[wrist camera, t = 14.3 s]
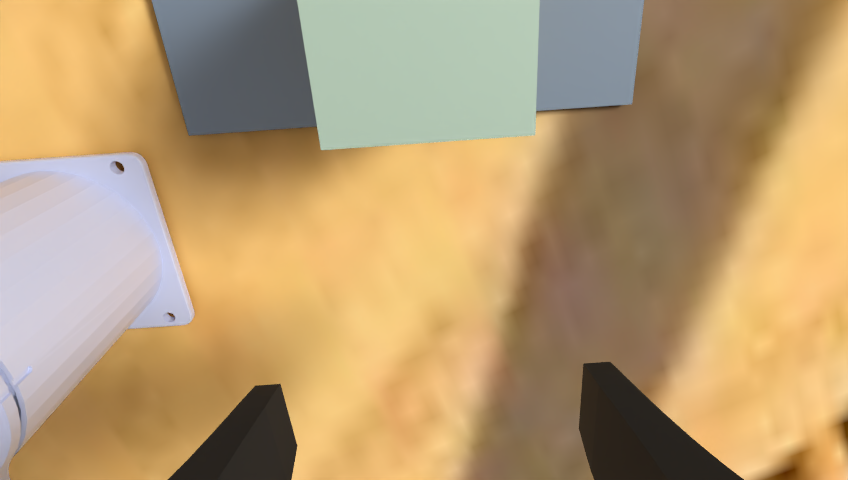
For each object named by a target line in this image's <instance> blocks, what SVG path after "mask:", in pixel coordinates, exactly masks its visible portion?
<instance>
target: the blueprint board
mask: <svg viewBox="0 0 848 480" xmlns="http://www.w3.org/2000/svg"><path fill="white" fill-rule="evenodd" d="M152 4H153V7H154V11H155V15H156V18H157V22H158V26H159V29H160V33H161V36H162V40H163V44H164V47H165V51H166V55H167V58H168V62H169V66H170V69H171V73H172V76H173V80H174V84H175V87H176V91H177V95H178V98H179V102H180V106H181V109H182V113H183V116H184V120H185V124H186V127H187V131H188V135H189V136H191V135H205V134H219V133H233V132H247V131H261V130H275V129H289V128H303V127H317V123H316V116H315V110H314V104H313V98H312V91H311V85H310V79H309V72H308V66H307V60H306V54H305V47H304V41H303V35H302V29H301V22H300V16H299V10H298V3H297V0H152ZM643 5H644V0H540V8H539V38H538V68H537V98H536V111H543V110H557V109H571V108H585V107H599V106H613V105H627V104H632V100H633V91H634V82H635V74H636V65H637V56H638V48H639V39H640V30H641V22H642V13H643Z"/></svg>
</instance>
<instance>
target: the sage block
mask: <svg viewBox="0 0 848 480" xmlns="http://www.w3.org/2000/svg"><path fill="white" fill-rule="evenodd" d="M297 3H298V10H299V16H300V22H301V29H302V35H303V41H304V47H305V54H306V60H307V66H308V72H309V79H310V85H311V91H312V98H313V104H314V110H315V116H316V123H317V129H318V135H319V142H320V148H321V150H332V149H346V148H360V147H374V146H389V145H403V144H417V143H431V142H445V141H460V140H474V139H488V138H502V137H517V136H531V135H535V128H536V98H537V68H538V38H539V8H540V0H297Z"/></svg>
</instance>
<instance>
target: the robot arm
mask: <svg viewBox="0 0 848 480" xmlns="http://www.w3.org/2000/svg"><path fill="white" fill-rule="evenodd" d="M116 161H117V162H120V163H121V164H122V165H123V167H124V171H121V170H119V169H118V168H117V166H116ZM167 312H168V313H172V314H173V315H174V316H175V317H171V316H169V315H168V313H167ZM194 316H195V313H194V309H193V306H192V302H191V299H190V296H189V293H188V290H187V287H186V284H185V281H184V277H183V274H182V271H181V268H180V265H179V262H178V259H177V256H176V252H175V249H174V246H173V243H172V240H171V237H170V234H169V231H168V227H167V224H166V221H165V218H164V215H163V212H162V209H161V206H160V202H159V199H158V196H157V193H156V190H155V187H154V184H153V181H152V177H151V174H150V171H149V168H148V165H147V162H146V161H145V159H144V158H143V157H142V156H141V155H140V154H138V153H135V152H122V153H108V154H94V155H80V156H66V157H51V158H37V159H23V160H9V161H0V480H11V479H10V477H9V464H10V462H11V460H12V458H13V457H14V456H15V455H16V453H17V452H18V451H19V450H20V449H21V448H22V447H23V446H24V445H25V443H26V442H27V441H28V440H29V439H30V438H31V437H32V436H33V434H34V433H35V432H36V431H37V430H38V429H39V428H40V427H41V425H42V424H43V423H44V422H45V421H46V420H47V419H48V418H49V416H50V415H51V414H52V413H53V412H54V411H55V410H56V409H57V407H58V406H59V405H60V404H61V403H62V402H63V401H64V399H65V398H66V397H67V396H68V395H69V394H70V393H71V392H72V390H73V389H74V388H75V387H76V386H77V385H78V384H79V383H80V381H81V380H82V379H83V378H84V377H85V376H86V375H87V374H88V372H89V371H90V370H91V369H92V368H93V367H94V366H95V365H96V363H97V362H98V361H99V360H100V359H101V358H102V357H103V356H104V354H105V353H106V352H107V351H108V350H109V349H110V348H111V347H112V345H113V344H114V343H115V342H116V341H117V340H118V339H119V338H120V336H121V335H122V334H123V333H124V332H125V331H126V330H127V329H135V328H149V327H164V326H179V325H186V324H189V323H190V322H191V321H192V319H193V318H194ZM579 430H580V434H581V437H582V441H583V445H584V448H585V452H586V456H587V459H588V462H589V466H590V469H591V472H592V475H593V477H594V480H744V479H742V478H741V477H740V476H738V475H737V474H736V473H734V472H733V471H732V470H730V469H729V468H728V467H727V466H725V465H724V464H723V463H722V462H720V461H719V460H718V459H717V458H715V457H714V456H713V455H712V454H710V453H709V452H708V451H707V450H706V449H704V448H703V447H702V446H701V445H700V444H698V443H697V442H696V441H695V440H694V439H692V438H691V437H690V436H689V435H688V434H687V433H686V432H684V431H683V430H682V429H681V428H680V427H679V426H678V425H677V424H675V423H674V422H673V421H672V420H671V419H670V418H669V417H668V416H667V415H665V414H664V413H663V412H662V411H661V410H660V409H659V408H658V407H657V406H656V405H655V404H653V403H652V402H651V401H650V400H649V399H648V398H647V397H646V396H645V395H644V394H643V393H642V392H641V391H640V390H639V389H638V388H637V387H636V386H635V385H634V384H633V383H632V382H631V381H630V380H628V379H627V378H626V377H625V376H624V375H623V374H622V373H621V372H620V371H619V370H618V369H617V368H616V367H615V366H614V365H613V364H612V363H611V362H601V363H586V364H584V365H583V379H582V393H581V407H580V421H579ZM296 450H297V444H296V440H295V436H294V433H293V429H292V425H291V421H290V418H289V414H288V410H287V407H286V403H285V399H284V396H283V392H282V388H281V385H280V384H274V385H259V386H255V387H254V388H253V389H252V390H251V391H250V392H249V393H248V394H247V395H246V397H245V398H244V399H243V400H242V401H241V402H240V403H239V404H238V405H237V406H236V408H235V409H234V410H233V411H232V412H231V413H230V414H229V415H228V417H227V418H226V419H225V420H224V421H223V422H222V423H221V424H220V425H219V427H218V428H217V429H216V430H215V431H214V432H213V433H212V434H211V435H210V436H209V438H208V439H207V440H206V441H205V442H204V443H203V444H202V445H201V446H200V447H199V448H198V449H197V450H196V452H195V453H194V454H193V455H192V456H191V457H190V458H189V459H188V460H187V461H186V462H185V463H184V464H183V465H182V466H181V467H180V468H179V469H178V470H177V471H176V472H175V473H174V474H173V475H172V476H171V477H170V478H169V479H168V480H291V478H292V473H293V468H294V462H295V456H296Z"/></svg>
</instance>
